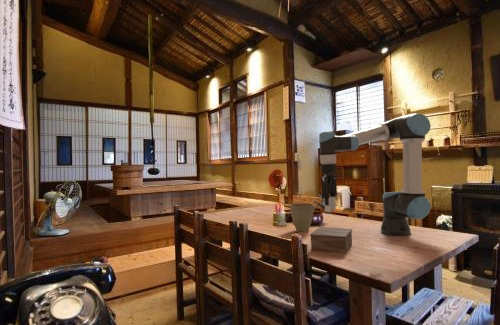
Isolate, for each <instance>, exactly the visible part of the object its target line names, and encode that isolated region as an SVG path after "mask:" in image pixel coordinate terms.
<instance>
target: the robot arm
mask: <svg viewBox="0 0 500 325" xmlns="http://www.w3.org/2000/svg"><path fill="white" fill-rule="evenodd" d="M430 131H431V121H430V120H429V118H428V117H427V116H426V115H425V114H424V113H420V112H418V113H417V112H415V113H410V114H406V115H403V116H399V117H395V118H393V119H390V120H388V121H385V122H382V123H379V124H378V125H377V126H374V127H371V128H367V129H366V128H365V129H362V130H359V131H355V132H350V133H348V134H344V135H336V132H334V131H323V132H320V133H319V134H318V135H319V137H318V138H319V139H318V142H319V155H320V156H319V161H320V172H321V173H323V176H320V181H321V189H322V198H324V201H325V210H324V212H325V213H331V212H332V211H336V210H337V207H336V198H337V197H338V190H337V189H338V188H337V187H338V186H337V185H338V184H337V176H338V175H336V174H334V173H335V172H337V164H336V163H337V153H338V152H339V153H340V152H347V151H348V152H352V151H357V149H358V148H359V146H361V145H366V144H368V143H372V142H375V141H376V142H377V141H381V140H383V141H386V140H390V139H399V141H400V142H401V143H402V189H401V190H400V191H391V192H389V191H388V192H384V193H383V194H382V211H383V212H382V214H383V220H382V223H381V226H380V233H382V234H385V235H389V236H390V235H391V236H408V235H410V234H411V228H410V225H409V223H408V222H409V221H408V220H407V218H408V219H412V220H414V219H415V220H423V219H424V218H426V216H428V215H429V213H430V212H431V208H432V204H431V202H430V200H429V199H428V198H427V197H426V192H425V191H424V190H423V189H422V188H423V186H422V184H423V181H422V180H423V179H422V178H423V176H422V175H423V173H422V172H423V171H422V169H423V161H422V160H423V159H422V158H423V156H422V155H423V152H422V151H423V150H422V149H423V147H422V145H423V144H422V143H424V141H425V140H426V135H427V134H429V132H430Z"/></svg>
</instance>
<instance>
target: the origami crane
mask: <svg viewBox="0 0 500 325" xmlns="http://www.w3.org/2000/svg"><path fill="white" fill-rule="evenodd" d="M320 193H321V194H318V196H319V198H320V202H318V201H316V200H314V199H313V201H312V204H314V205H316V206H314V208H313V209H314V210H315V209H317V208H319V207H320V209H322V210H324V211H325V201H324V198H322V188H321V189H320ZM313 209H311V210H313Z"/></svg>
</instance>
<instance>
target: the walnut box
mask: <svg viewBox="0 0 500 325" xmlns="http://www.w3.org/2000/svg"><path fill="white" fill-rule="evenodd" d="M352 231H353V229H352V228H341V227H328V226H327V227H324V226H319V227H318V228H316V229H314V231H312V232H311V233H310V234H309V236H310V245H311V247H310V248H311V251H315V252H316V251H317V252H325V253H336V254H345V255H346V254H348V251H349V250H350V248H351V247H352V245H353V238H352V237H353V235H352V234H353V233H352Z"/></svg>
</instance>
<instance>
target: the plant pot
mask: <svg viewBox="0 0 500 325" xmlns="http://www.w3.org/2000/svg"><path fill="white" fill-rule="evenodd" d="M314 207H315V204H314V203H304V202H299V203H292V204H289V211H290V216H291V219H292V221H293V226H294V228H295V230H296V232H299V233H307V232H309V230H310V227H311V224H312V220H313V216H314V211H315V209H313V208H314ZM311 209H313V210H311Z"/></svg>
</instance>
